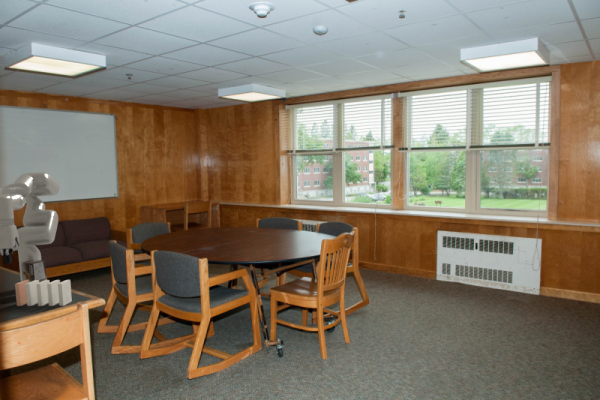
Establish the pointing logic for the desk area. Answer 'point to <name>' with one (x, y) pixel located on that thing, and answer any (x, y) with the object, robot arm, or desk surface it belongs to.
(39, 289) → the domino
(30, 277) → the coffee box
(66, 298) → the domino
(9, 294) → the desk surface
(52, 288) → the domino
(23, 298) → the domino
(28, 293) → the domino
